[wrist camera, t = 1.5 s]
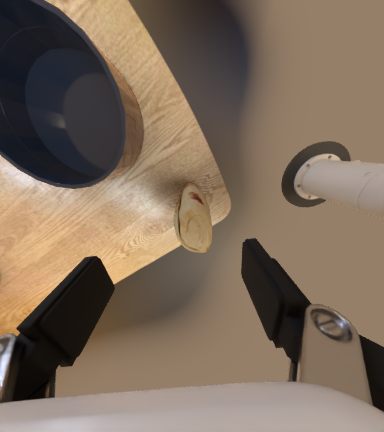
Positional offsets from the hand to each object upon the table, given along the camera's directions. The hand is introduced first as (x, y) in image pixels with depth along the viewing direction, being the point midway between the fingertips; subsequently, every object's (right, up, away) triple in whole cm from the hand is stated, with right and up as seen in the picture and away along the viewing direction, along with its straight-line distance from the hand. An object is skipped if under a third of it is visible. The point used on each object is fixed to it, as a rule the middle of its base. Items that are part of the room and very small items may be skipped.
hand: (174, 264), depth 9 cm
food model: (+1, +9, +30) cm, 31 cm away
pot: (-22, +24, +22) cm, 39 cm away
